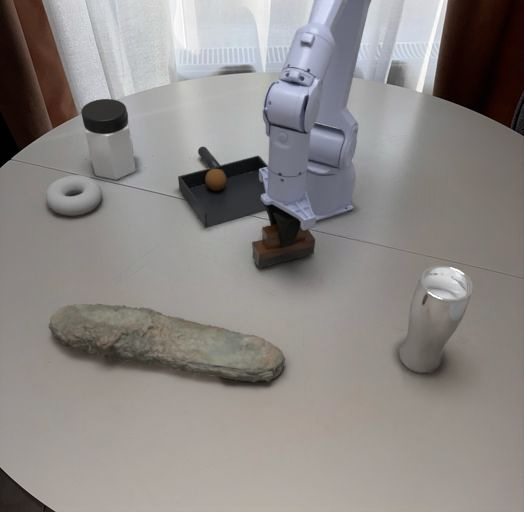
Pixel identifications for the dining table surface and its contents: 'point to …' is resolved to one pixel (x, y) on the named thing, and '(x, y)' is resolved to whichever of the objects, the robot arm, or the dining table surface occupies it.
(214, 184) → the cork ball
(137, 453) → the dining table surface
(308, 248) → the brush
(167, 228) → the dining table surface
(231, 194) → the dustpan
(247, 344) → the elongated rock
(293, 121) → the robot arm
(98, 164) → the jar
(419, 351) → the beer glass
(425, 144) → the dining table surface
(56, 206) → the donut
